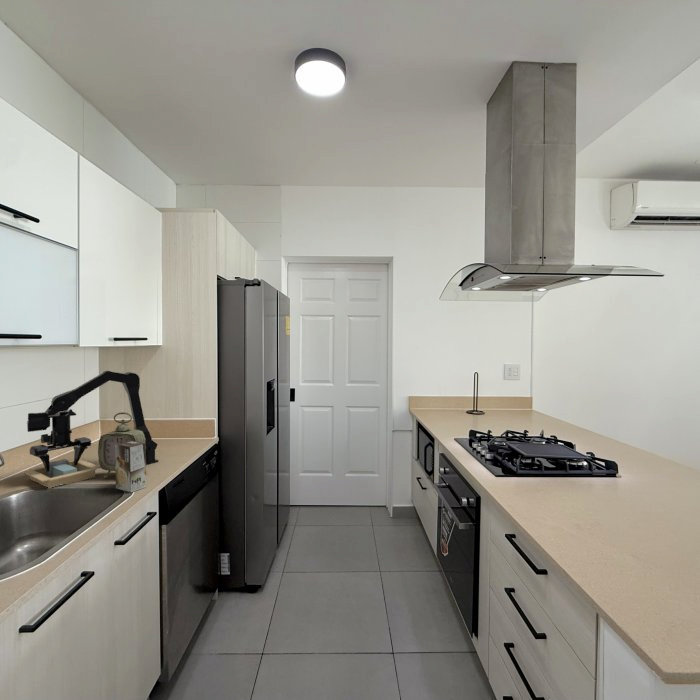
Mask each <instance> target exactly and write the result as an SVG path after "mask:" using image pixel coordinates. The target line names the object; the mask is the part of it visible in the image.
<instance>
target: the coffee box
mask: <svg viewBox="0 0 700 700" xmlns="http://www.w3.org/2000/svg"><path fill="white" fill-rule="evenodd" d="M115 467H116V471H115V489H118V490H121V491H124V492H128V493H133V492H136V491H140V490H142V489H145V488H147V464H146V443H142V442H136V441H126V442H121V443H118V444H115Z"/></svg>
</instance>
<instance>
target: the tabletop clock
mask: <svg viewBox="0 0 700 700" xmlns="http://www.w3.org/2000/svg"><path fill="white" fill-rule="evenodd" d="M119 415H126V416H129V417H130V419H129V420H127V421H125V419H121V421H119V420H117V419H116V417H117V416H119ZM113 420H114V422H115V423H118V425H117V426H116V427H115V429H114V430H113V431H109V432H107V433H105V434H103V435H101V436H100V438H99V439H98V446H97V455H98V456H97V458H98V462H99V463H98V464H99V466H100V467H101V468H100V469H102V470H104V471H107V473H105V474H104V475H103V479H108V478H109V474H110V473H111V472H116V467H115V444H118V443H121V442H126V441H136V442H142V443H146V442H145V436H144V433H143V431H140V430H134V428H131V426H130V425H129V424H128V423H130V422H131V421H133V417H132V414H130V413H128V412H124V411H123V412H118V413H116V414H114V416H113Z"/></svg>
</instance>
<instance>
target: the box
mask: <svg viewBox="0 0 700 700" xmlns="http://www.w3.org/2000/svg"><path fill="white" fill-rule="evenodd" d="M69 461H70V460H68V459H65V458H64V459H60V460H56V461H49V465H50V469H49V472H47V471H46V476H47V477H49V478H53V477H57V476H61V475H65V474H69V473H74V472H78V471H77V468H75V467H72V466H70V465H69Z"/></svg>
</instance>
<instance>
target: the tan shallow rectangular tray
mask: <svg viewBox="0 0 700 700" xmlns="http://www.w3.org/2000/svg"><path fill="white" fill-rule="evenodd" d="M68 461H69V465H70V466H72V467H75V468H77V472H74V473H69V474H65V475H61V476H57V477H53V478H49V477H47V476H46V468H45V466H44V465H43V466H38V467H35V468H29V469H28V470H24V471H23V474H26V475H27V476H29V479H31V481H32V480H33V482H34V481H36V482H38V483H40V484H42V485H45V486H47V487H48V488H47V489H48V490H50V489H53V488H52V487H53V486H56V485H60V484H66V485H68V484H67V483H70V484H74V483H77V482H81V481H84V480H85V481H86V480H88V478H89V479H93V478H96V471H97V469H101V467H100V465H97V464H94V463H92V462H89V461H87V460H83V459H79V461H78V463H77V465H76V466H75V465H74V459H72V460H68ZM92 477H93V478H92ZM36 482H35V483H36ZM73 482H74V483H73ZM38 483H37V484H38ZM40 484H39V485H40ZM42 485H41V486H42Z"/></svg>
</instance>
